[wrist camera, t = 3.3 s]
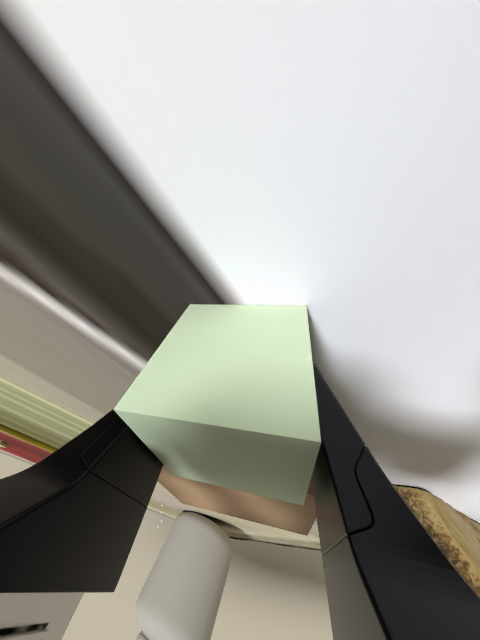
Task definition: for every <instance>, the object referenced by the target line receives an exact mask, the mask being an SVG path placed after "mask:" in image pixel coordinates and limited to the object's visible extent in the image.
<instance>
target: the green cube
mask: <svg viewBox="0 0 480 640" xmlns="http://www.w3.org/2000/svg"><path fill="white" fill-rule="evenodd" d="M114 411H115V412H116V413H117V414H118V415H119V416H120V417H121V418H122V420H123V421H124V422H125V423H126V424H127V425H128V426H129V427H130V428H131V429H132V430H133V432H134V433H135V434H136V435H137V436H138V437H139V438H140V439H141V440H142V441H143V442H144V444H145V445H146V446H147V447H148V448H149V449H150V450H151V451H152V452H153V453H154V454H155V456H156V457H157V458H158V459H159V460H160V461H161V462H162V463H163V464H164V465H165V466H166V468H167V469H168V470H169V471H170V472H171V473H172V474H173V475H174V476H177V477H181V478H186V479H190V480H194V481H199V482H203V483H208V484H212V485H216V486H221V487H225V488H229V489H234V490H238V491H242V492H247V493H251V494H255V495H260V496H264V497H269V498H273V499H277V500H282V501H286V502H290V503H295V504H299V505H303V506H304V502H305V498H306V495H307V491H308V488H309V484H310V480H311V477H312V473H313V470H314V466H315V462H316V459H317V455H318V452H319V448H320V444H321V436H320V427H319V418H318V408H317V399H316V390H315V380H314V371H313V362H312V352H311V343H310V334H309V324H308V315H307V306H304V305H200V304H190V305H189V306H188V308H187V309H186V311H185V312H184V313H183V315H182V316H181V317H180V319H179V320H178V322H177V323H176V324H175V326H174V327H173V328H172V330H171V331H170V333H169V334H168V335H167V337H166V338H165V339H164V341H163V342H162V344H161V345H160V346H159V348H158V349H157V350H156V352H155V353H154V355H153V356H152V357H151V359H150V360H149V361H148V363H147V364H146V366H145V367H144V368H143V370H142V371H141V372H140V374H139V375H138V377H137V378H136V379H135V381H134V382H133V383H132V385H131V386H130V388H129V389H128V390H127V392H126V393H125V394H124V396H123V397H122V399H121V400H120V401H119V403H118V404H117V405H116V407H115V408H114Z"/></svg>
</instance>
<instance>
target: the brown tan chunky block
mask: <svg viewBox="0 0 480 640" xmlns="http://www.w3.org/2000/svg"><path fill="white" fill-rule="evenodd" d="M393 487H394V488H395V489H396V491H397V492H398V493H399V495H400V496H401V498H402V499H403V500H404V502H405V503H406V504H407V506H408V507H409V508H410V510H411V511H412V512H413V514H414V515H415V516H416V518H417V519H418V520H419V522H420V523H421V524H422V526H423V527H424V528H425V530H426V531H427V532H428V534H429V535H430V536H431V538H432V539H433V540H434V541H435V543H436V544H437V545H438V547H439V548H440V549H441V551H442V552H443V553H444V555H445V556H446V557H447V559H448V560H449V561H450V563H451V564H452V565H453V567H454V568H455V569H456V570H457V572H458V573H459V574H460V575H461V577H462V578H463V579H464V580H465V581H466V583H467V584H468V585H469V586H470V587H471V588H472V590H473V591H474V592H475V593H476V594H477V595H478V596H479V597H480V524H479V523H476V522H475V521H473V520H471V519H470V518H468V517H467V516H466V515H464V514H462V513H461V512H458V511H457V510H455V509H454V508H452V507H451V505H449V504H447V503H446V502H444V501H443V500H442V499H439V498H437V497H435V496H432V494H431V493H429V492H427V491H424V490H421V489H419V488H411V487H402V486H395V485H393Z"/></svg>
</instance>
